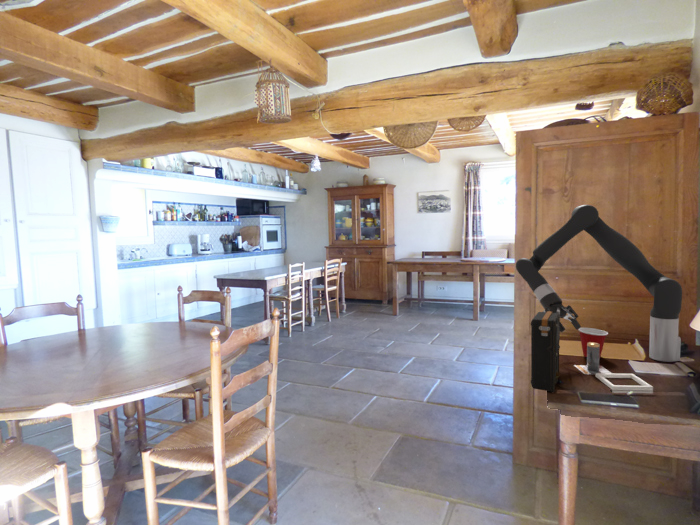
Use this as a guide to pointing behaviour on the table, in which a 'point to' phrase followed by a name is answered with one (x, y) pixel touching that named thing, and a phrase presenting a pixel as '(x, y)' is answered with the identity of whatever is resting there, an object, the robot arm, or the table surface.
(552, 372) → the black carrying case
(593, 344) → the battery cell
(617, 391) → the white square tray
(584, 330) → the plastic cup
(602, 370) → the plate
